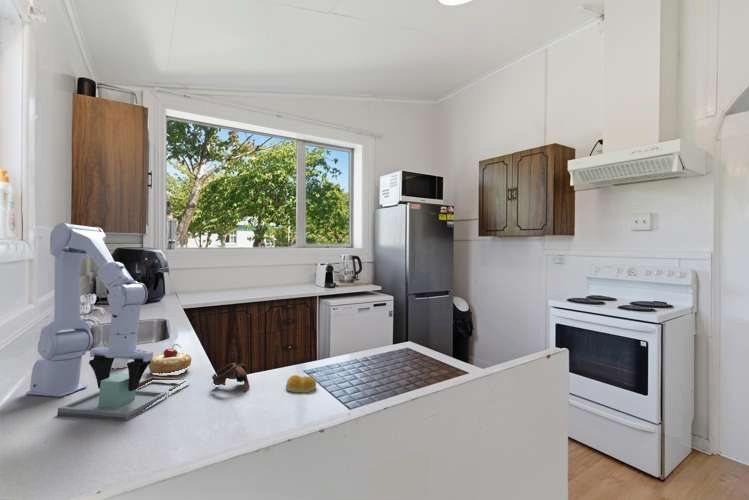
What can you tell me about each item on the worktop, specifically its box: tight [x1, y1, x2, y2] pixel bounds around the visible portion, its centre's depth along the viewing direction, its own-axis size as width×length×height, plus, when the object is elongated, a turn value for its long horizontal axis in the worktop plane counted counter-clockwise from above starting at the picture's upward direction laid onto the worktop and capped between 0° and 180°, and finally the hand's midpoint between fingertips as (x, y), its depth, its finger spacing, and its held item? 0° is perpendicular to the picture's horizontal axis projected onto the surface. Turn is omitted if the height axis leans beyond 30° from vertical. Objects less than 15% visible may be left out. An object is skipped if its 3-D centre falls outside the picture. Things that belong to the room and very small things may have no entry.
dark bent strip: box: [137, 376, 186, 392], centre depth 99 cm, size 11×9×2 cm
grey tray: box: [57, 389, 168, 422], centre depth 85 cm, size 16×14×2 cm
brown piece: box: [211, 362, 250, 393], centre depth 103 cm, size 12×10×8 cm
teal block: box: [98, 373, 136, 408], centre depth 85 cm, size 4×6×6 cm
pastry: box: [148, 343, 192, 374], centre depth 113 cm, size 12×12×9 cm
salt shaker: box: [111, 358, 131, 370], centre depth 115 cm, size 5×5×11 cm
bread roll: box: [285, 374, 317, 394], centre depth 106 cm, size 8×9×4 cm
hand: (117, 388), depth 85 cm, fingers open, 7 cm apart
